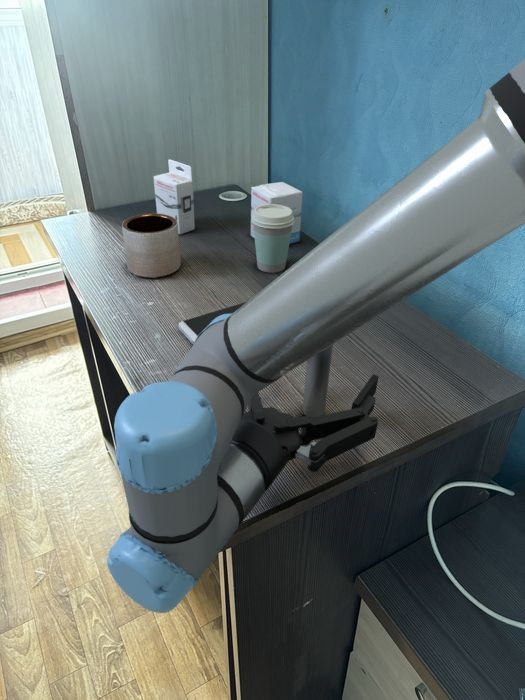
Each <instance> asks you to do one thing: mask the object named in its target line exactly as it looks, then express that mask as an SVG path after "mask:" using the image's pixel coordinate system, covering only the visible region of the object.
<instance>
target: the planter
mask: <svg viewBox="0 0 525 700" xmlns="http://www.w3.org/2000/svg"><path fill="white" fill-rule="evenodd" d="M121 230H122V236H123V237H122V238H123V246H124V254H125V261H126V268H127V271H129V273H131V274H132V275H135V276H137V277H140V278H144V279H158V278H159V279H160V278H164V277H167V276H170V275H172V274H174V273H175V272H177V271H178V270H179V269H180V268H181V265H182V258H181V248H180V239H179V238H180V236H179V235H180V234H178V223H177V220H176V219H175V218H173V217H171V216H169V215H165V214H157V212H155V213H154V212H149V213H141V214H135V215H133V216H130V217H128V218H126V219H124V220H123V221H122V223H121Z"/></svg>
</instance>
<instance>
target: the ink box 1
mask: <svg viewBox="0 0 525 700" xmlns="http://www.w3.org/2000/svg"><path fill="white" fill-rule="evenodd" d="M167 162H168V163H167V165H168V172H165V173H160V174H156V175H153V186H154V195H155V207H156V213H157V214H165V215H169V216H171V217H173V218H175V219H176V220H177V223H178V235H183V234H185V233H188V232H191V231H194V230H195V229H196V228H195V227H196V226H195V225H196V224H195V206H194V205H195V204H194V184H193V183H194V182H193V170H192V166H191V165H187V164H185V163H182V162H180V161H176V160H173V159H171V158H169V159H168V160H167ZM179 167H180V169H182V170H180V169H178V168H179Z"/></svg>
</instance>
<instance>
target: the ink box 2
mask: <svg viewBox="0 0 525 700" xmlns="http://www.w3.org/2000/svg"><path fill="white" fill-rule="evenodd" d="M250 193H251V194H250V195H251V197H250V206H251V207H250V237H252V238H253V239H255V237H254V227H253V222H252V221H251V219H252V215H253V213H254V210H255V208H256V207H258V206H261V205H267V204H277V205H283V206H286V207H289V208H290V209H291V210H292V213H293V216H294V220H295V222H294V223H293V225H292V231H291V237H290V243H289V245H290V244H294V243H298V242H300V241H301V227H302V226H301V225H302V208H303V190H302V191H301V190H299V189H298V188H295V187H294V186H292V185H290V184H288V183H286V182H285V181H278V182H272V183H271V182H270V183H264V184H259V185H256V186H251V192H250Z"/></svg>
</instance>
